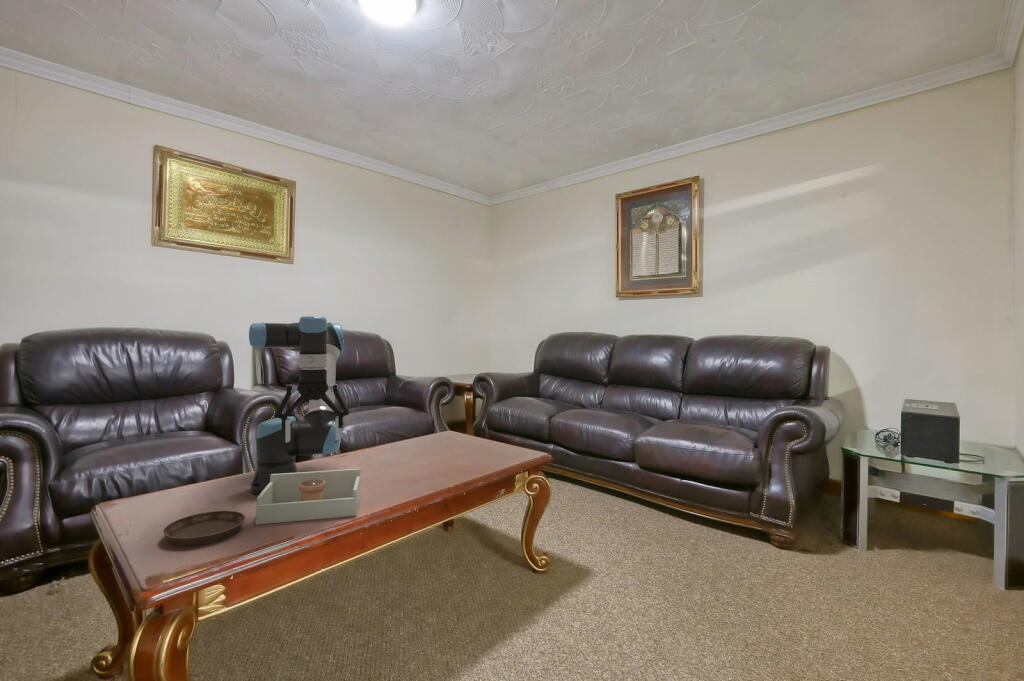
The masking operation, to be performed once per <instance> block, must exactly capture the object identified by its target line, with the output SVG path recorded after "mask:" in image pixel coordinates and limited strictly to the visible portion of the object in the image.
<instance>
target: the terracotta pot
mask: <svg viewBox="0 0 1024 681" xmlns="http://www.w3.org/2000/svg"><path fill="white" fill-rule="evenodd" d="M324 487H325V480H323V479H310V480H305V481H303V482H301V483H300V484H299V490H300V491H301V501H313V500H323V488H324Z"/></svg>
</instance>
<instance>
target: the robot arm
mask: <svg viewBox="0 0 1024 681" xmlns="http://www.w3.org/2000/svg"><path fill="white" fill-rule="evenodd" d="M248 341H249V345H250V346H251V347H252V348H259V349H260V348H261V349H266V348H269V349H270V348H278V349H280V350H285V351H292V352H298V354H299V355H298V358H299V359H298V367H299V368H300V369H299V370H298V377H299V378H298V385H293V384H289V385H288V386H287V387H286V392H285V394H284V396H283V398H282V401H281V403H280V404H279V406H278V407H277V410H276V411H275V413H274V415H273V416H274V418H270V419H268V420H264V421H262V422H260V423H259V424H258V425H257V427H256V436H255V439H256V441H255V442H256V444H255V445H256V468H255V471H254V474H253V476H252V479H251V482H250V488H249V489H250V493H251V494H252V495H257V496H259V495H260V493H261V492H262V491H263V490H264V489H265V487H266V486H267V485H268V484H269V483H270V475H271V474H282V473H297V472H299V469H298V467H297V465H296V457H297V456H313V455H326V454H333V453H336V452H338V451H339V450H340V446H341V441H342V435H343V428H344V417H345V416H349V414H350V409H349V408H348V405H347V404H346V402H345V400H344V398H343V397H342V395H341V392H340V390H339V385H338V383H336V377H337V376H336V374H337V372H336V370H337V359H338V358H339V357H340V356H341V353H343V352H345V340H344V331H343V327H342V324H340V323H338V322H328V321H327V318H326V316H319V315H318V316H316V315H315V316H313V315H312V316H311V315H308V316H300V318H299V322H292V323H291V322H290V323H282V322H281V323H280V322H279V323H276V322H275V323H274V322H253V323H251V324H250V326H249V330H248ZM296 391H297V392H298V393H299V394H300V396H298V397H297V398H296V400H295V401H294V402H293V403H292V404H291V405H290V406H289V407H288V409H287V410H286V411H285V412H284V413H283V411H284V410H285V409H286V406H287V404H288V402H289V400H290V399H291V397H292V395H293V394H294V393H295V392H296ZM304 400H305V401H308V402H309V403H308V411H307V412H306V413H305V414H303V419H302V420H297V419H296V417H295V416H290V415H291V414H292V413H293V412H294V411H295V409H296V408H297V407H298V406H299V405H300V404H301V403H302V402H303V401H304ZM336 401H337V402H338V404H339V406H340V408H341V409H340V408H339V407H338V406H337V405H336Z"/></svg>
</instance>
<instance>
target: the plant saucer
mask: <svg viewBox="0 0 1024 681" xmlns="http://www.w3.org/2000/svg"><path fill="white" fill-rule="evenodd" d="M245 519H246V516H245V514H243V513H242V512H239V511H234V510H216V511H215V510H214V511H208V512H202V513H195V514H193V515H189V516H185V517H183V518H179V519H177V520H175V521H173V522H171V523H169V524H168V525H166V526H165V527H164V528H163V530H162V533H163V536H165V538H166V539H167V540H169V541H170V542H171V543H173V544H175V545H179V546H198V545H199V544H200V545H205V543H206V544H210V543H209V542H211V543H213V541H214V542H218V541H221V540H223V539H225V538H227V536H228V537H230V536H231V535H233V534H234V533H235V532H236V531H237V530H238V529H239V528H240V527H241V526H242V525H243V523H244V522H245ZM229 535H230V536H229ZM217 540H218V541H217Z"/></svg>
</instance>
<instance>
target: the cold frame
mask: <svg viewBox="0 0 1024 681" xmlns="http://www.w3.org/2000/svg"><path fill="white" fill-rule="evenodd" d="M310 479H323V480H325V487H324V488H323V500H313V501H301V491H300V490H299V484H300V483H301V482H303V481H305V480H310ZM360 499H361V468H349V469H348V468H347V469H333V470H331V469H330V470H316V471H315V470H313V471H303V472H300V471H298V472H297V473H282V474H271V475H270V483H269V484H268V485H267V486H266V487H265V489H264V490H263V491H262V492H261V493H260V495H257V497H256V506H255V525H265V524H275V523H276V524H277V523H286V522H288V523H289V522H298V521H308V520H309V521H310V520H311V521H312V520H322V519H323V520H324V519H335V518H344V517H356V516H357V515H358V509H359V504H360Z"/></svg>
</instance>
